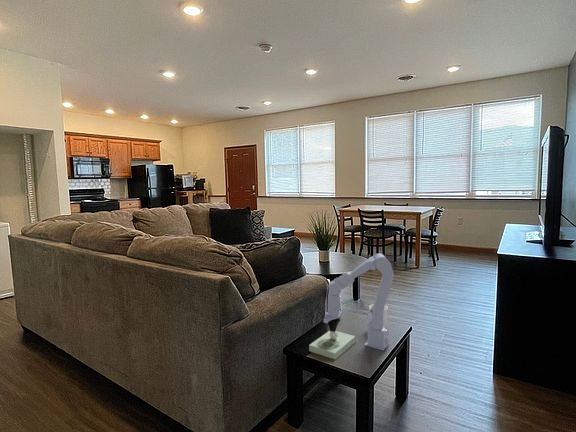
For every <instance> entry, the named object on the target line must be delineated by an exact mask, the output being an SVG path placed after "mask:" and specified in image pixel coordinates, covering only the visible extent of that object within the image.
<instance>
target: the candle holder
mask: <svg viewBox="0 0 576 432" xmlns="http://www.w3.org/2000/svg"><path fill="white" fill-rule="evenodd" d="M373 305H374V303H372V304H369V305H368V312H369V311H370V310H371V308H372V306H373ZM388 311H389V306H388V305H386V304H385V307H384V317H383V327H384V328H385V329H387V330H388Z"/></svg>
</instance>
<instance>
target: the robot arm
mask: <svg viewBox="0 0 576 432" xmlns="http://www.w3.org/2000/svg"><path fill="white" fill-rule="evenodd" d="M376 269H377V270H378V272H380V273H381V274H382V276H381V280H380V282H379V285H378V289H377V291H376V292H377V293H376V296H375V300H374V303H373V304H374V305H373V306H372V308H371V310H370V311H369V310H368V313H367V316H366V318H367V320H368V324H367V341H366V342H365V343H364V346H366V347H368V348H369V347H370V348H373V349H375V350H376V349H377V350H379V351H384V350H385V349H386V348H388V346H389V345H390V340H389V339H390V337H389V335H390V333H389V329H388V328H387V329H385V328H384V327H383V317H384V307H385V305H386V304H387V301H388V297H389V295H390V294H389V293H390V290H391V287H392V285H393V284H392V283H393V280H394V277H395V274H394V271H393V267H392V263H391V262H390V260H388V259H387V257H386V256H385V255H384V254H383V253H381V252H379V253H375V254H374V255H372V256H370V257H368V258H367V259H366V260H365V261H363V262H362V263H361V264H360V265H358V266H357V267H356V268H354V269H353V270H352V271H350V272H349V271H346V272H342V273H341V274H342V275H340V276H339V277H337V278H334V279H333V280H331V281H330V282H329V283H328V284H327V285H328V286H327V288H328V292H327V293H328V297H327V312H325V317H324V318H323V323H324V324H327V325H328V327H329V331H330V332H331V331H333V332H335V331H337V327H338V324H339V323H340V321H341V319H340V317H341V316H343V310H340V309H341V308H340V307H341V297H340V294H341V293H342V290H344V289H346V288H347V287H348V286H350V285H352V284H353V283H354V282H355V278H358V277H359V276H360V275H362V274H364V273H365V272H367V271H369V270H371V271H376Z"/></svg>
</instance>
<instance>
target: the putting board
mask: <svg viewBox="0 0 576 432" xmlns="http://www.w3.org/2000/svg"><path fill="white" fill-rule="evenodd" d="M336 332H337V334H338V337H337V338H336V339H331V338H330V330H328V331H327V332H325V333H324V334H323V335H321V336H320V337H318V338H317V339H315V340H313V342H311V343H310V344H309V345H308V347H309V348H308V349H309V350H308V351H309V352H311V353H313V354H317V355H321V356H323V357H326V358H329V359H331V360H337V359H338V358H339V357H340V356H341V355H342V354H344V353H345V352H346V351H347V350H348V349H350V348H351V347H352V346H353V345H355V343H356V342H357V338H356V337H357V336H356V335H352V334H348V333H344V332H341V331H337V330H336Z"/></svg>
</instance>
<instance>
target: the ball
mask: <svg viewBox="0 0 576 432" xmlns="http://www.w3.org/2000/svg"><path fill="white" fill-rule="evenodd" d="M336 331H337V330H336ZM336 331H335V332H333V331H331V332H330V338H331V339H336V338H337V337H338V334H337V332H336Z"/></svg>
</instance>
